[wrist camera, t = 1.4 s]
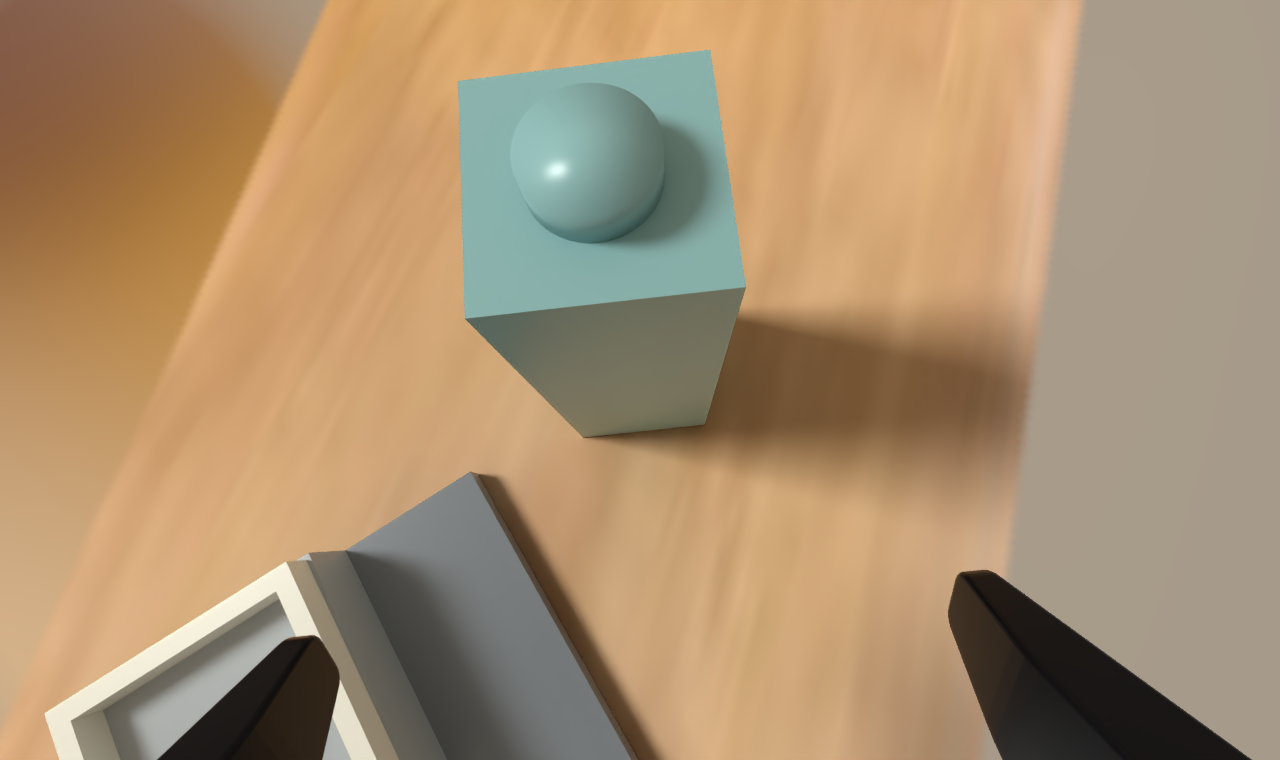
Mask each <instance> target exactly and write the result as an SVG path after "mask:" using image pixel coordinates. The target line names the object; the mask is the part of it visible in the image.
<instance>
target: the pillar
mask: <svg viewBox="0 0 1280 760" xmlns="http://www.w3.org/2000/svg"><path fill="white" fill-rule="evenodd" d="M458 94H459V130H460V165H461V200H462V235H463V271H464V306H465V319H466V320H467V321H468V322H469V323H470V324H471V325H472V326H473V327H474V328H475V329H476V330H477V331H478V332H479V333H480V334H481V335H482V336H483V337H484V338H485V339H486V340H487V341H488V342H489V343H490V344H491V345H492V346H493V347H494V348H495V349H496V350H497V351H498V352H499V353H500V354H501V355H502V356H503V357H504V358H505V359H506V360H507V361H508V362H509V363H510V364H511V365H512V366H513V367H514V368H515V369H516V370H517V371H518V372H519V373H520V374H521V375H522V376H523V377H524V378H525V379H526V380H527V381H528V382H529V383H530V384H531V385H532V386H533V387H534V388H535V389H536V390H537V391H538V392H539V393H540V394H541V395H542V396H543V397H544V398H545V399H546V400H547V401H548V402H549V404H550V405H551V406H552V407H553V408H554V409H555V410H556V411H557V412H558V413H559V414H560V415H561V416H562V417H563V418H564V419H565V420H566V421H567V422H568V423H569V424H570V425H571V426H572V427H573V428H574V429H575V430H576V431H577V432H578V433H579V434H580V435H581V436H582V437H592V436H602V435H611V434H621V433H630V432H639V431H649V430H658V429H668V428H677V427H687V426H696V425H705V422H706V419H707V416H708V412H709V409H710V406H711V402H712V399H713V396H714V392H715V389H716V385H717V382H718V379H719V375H720V372H721V369H722V365H723V362H724V359H725V355H726V352H727V349H728V345H729V342H730V339H731V335H732V332H733V329H734V325H735V322H736V319H737V315H738V312H739V309H740V305H741V302H742V299H743V295H744V292H745V288H746V284H745V278H744V271H743V264H742V258H741V251H740V245H739V238H738V231H737V225H736V218H735V211H734V205H733V198H732V192H731V185H730V178H729V172H728V165H727V158H726V152H725V145H724V139H723V132H722V125H721V119H720V112H719V106H718V99H717V92H716V86H715V79H714V72H713V66H712V59H711V53H710V50H704V51H696V52H688V53H680V54H672V55H664V56H656V57H648V58H640V59H632V60H624V61H616V62H607V63H599V64H591V65H583V66H575V67H567V68H559V69H551V70H543V71H535V72H527V73H519V74H511V75H503V76H495V77H487V78H479V79H471V80H462V81H458Z"/></svg>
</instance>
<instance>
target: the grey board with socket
mask: <svg viewBox="0 0 1280 760" xmlns="http://www.w3.org/2000/svg"><path fill="white" fill-rule="evenodd" d="M307 635H315V636H317V637H319V638H320V639H321V640H322V642H323V643H324V645H325V647H326V648H327V650H328V652H329V653H330V655H331V657H332V658H333V660H334V662H335V663H336V665H337V667H338V669H339V674H340V684H339V689H338V694H337V698H336V703H335V707H334V711H333V716H332V720H331V725H330V729H329V733H328V738H327V742H326V747H325V751H324V755H323V760H638V759H637V757H636V755H635V753H634V751H633V750H632V748H631V746H630V744H629V743H628V741H627V739H626V737H625V735H624V734H623V732H622V730H621V728H620V727H619V725H618V723H617V721H616V719H615V718H614V716H613V714H612V712H611V711H610V709H609V707H608V705H607V703H606V702H605V700H604V698H603V696H602V694H601V693H600V691H599V689H598V687H597V686H596V684H595V682H594V680H593V678H592V677H591V675H590V673H589V671H588V670H587V668H586V666H585V664H584V662H583V661H582V659H581V657H580V655H579V654H578V652H577V650H576V648H575V646H574V645H573V643H572V641H571V639H570V638H569V636H568V634H567V632H566V630H565V629H564V627H563V625H562V623H561V622H560V620H559V618H558V616H557V614H556V613H555V611H554V609H553V607H552V606H551V604H550V602H549V600H548V598H547V597H546V595H545V593H544V591H543V589H542V588H541V586H540V584H539V582H538V581H537V579H536V577H535V575H534V573H533V572H532V570H531V568H530V566H529V565H528V563H527V561H526V559H525V557H524V556H523V554H522V552H521V550H520V549H519V547H518V545H517V543H516V541H515V540H514V538H513V536H512V534H511V533H510V531H509V529H508V527H507V525H506V524H505V522H504V520H503V518H502V517H501V515H500V513H499V511H498V509H497V508H496V506H495V504H494V502H493V500H492V499H491V497H490V495H489V493H488V492H487V490H486V488H485V486H484V484H483V483H482V481H481V479H480V477H479V476H478V474H477V473H473V472H469V473H467V474H466V475H464V476H463V477H461V478H460V479H458V480H456V481H455V482H453V483H452V484H450V485H448V486H447V487H445V488H444V489H442V490H441V491H439V492H437V493H436V494H434V495H433V496H431V497H429V498H428V499H426V500H425V501H423V502H422V503H420V504H418V505H417V506H415V507H414V508H412V509H410V510H409V511H407V512H406V513H404V514H403V515H401V516H399V517H398V518H396V519H395V520H393V521H392V522H390V523H388V524H387V525H385V526H384V527H382V528H380V529H379V530H377V531H376V532H374V533H373V534H371V535H369V536H368V537H366V538H365V539H363V540H361V541H360V542H358V543H357V544H355V545H354V546H352V547H350V548H349V549H347V550H345V551H330V552H315V553H308V554H306V555H304V556H303V557H301V558H300V559H298V560H296V561H287V562H285V563H283V564H281V565H280V566H278V567H277V568H275V569H273V570H272V571H270V572H269V573H267V574H265V575H264V576H262V577H261V578H259V579H258V580H256V581H254V582H253V583H251V584H250V585H248V586H246V587H245V588H243V589H242V590H240V591H238V592H237V593H235V594H234V595H232V596H230V597H229V598H227V599H226V600H224V601H222V602H221V603H219V604H218V605H216V606H215V607H213V608H211V609H210V610H208V611H207V612H205V613H203V614H202V615H200V616H199V617H197V618H195V619H194V620H192V621H191V622H189V623H187V624H186V625H184V626H183V627H181V628H179V629H178V630H176V631H175V632H173V633H171V634H170V635H168V636H167V637H165V638H164V639H162V640H160V641H159V642H157V643H156V644H154V645H152V646H151V647H149V648H148V649H146V650H144V651H143V652H141V653H140V654H138V655H136V656H135V657H133V658H132V659H130V660H128V661H127V662H125V663H124V664H122V665H121V666H119V667H117V668H116V669H114V670H113V671H111V672H109V673H108V674H106V675H105V676H103V677H101V678H100V679H98V680H97V681H95V682H93V683H92V684H90V685H89V686H87V687H85V688H84V689H82V690H81V691H79V692H78V693H76V694H74V695H73V696H71V697H70V698H68V699H66V700H65V701H63V702H62V703H60V704H58V705H57V706H55V707H54V708H52V709H50V710H49V711H47V712H46V713H44V714H45V717H46V720H47V723H48V726H49V729H50V732H51V735H52V738H53V741H54V744H55V747H56V750H57V753H58V757H59V760H157V759H158V758H159V757H160V756H161V755H162V754H163V753H164V752H165V751H167V750H168V749H169V748H170V747H171V746H172V745H173V744H174V743H175V742H176V741H177V740H178V739H179V738H180V737H181V736H182V735H183V734H184V733H186V732H187V731H188V730H189V729H190V728H191V727H192V726H193V725H194V724H195V723H196V722H197V721H198V720H199V719H200V718H201V717H202V716H203V715H205V714H206V713H207V712H208V711H209V710H210V709H211V708H212V707H213V706H214V705H215V704H216V703H217V702H218V701H219V700H220V699H221V698H223V697H224V696H225V695H226V694H227V693H228V692H229V691H230V690H231V689H232V688H233V687H234V686H235V685H236V684H237V683H238V682H239V681H240V680H242V679H243V678H244V677H245V676H246V675H247V674H248V673H249V672H250V671H251V670H252V669H253V668H254V667H255V666H256V665H257V664H258V663H259V662H261V661H262V660H263V659H264V658H265V657H266V656H267V655H268V654H269V653H270V652H271V651H272V650H273V649H274V648H275V647H276V646H277V645H279V644H280V643H281V642H282V641H284V640H285V639H287V638H290V637H297V636H307Z"/></svg>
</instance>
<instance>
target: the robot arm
mask: <svg viewBox="0 0 1280 760" xmlns="http://www.w3.org/2000/svg"><path fill="white" fill-rule="evenodd" d="M948 618H949V624H950V627H951V630H952V633H953V635H954V638H955V641H956V643H957V646H958V649H959V651H960V654H961V657H962V659H963V662H964V665H965V667H966V670H967V672H968V675H969V678H970V680H971V683H972V686H973V688H974V691H975V694H976V696H977V699H978V702H979V704H980V707H981V710H982V712H983V715H984V717H985V720H986V723H987V725H988V728H989V730H990V732H991V735H992V738H993V740H994V742H995V744H996V746H997V749H998V751H999V753H1000V755H1001V757H1002V759H1003V760H1251V759H1250V758H1249V757H1247V756H1246V755H1244V754H1243V753H1242V752H1240V751H1239V750H1238V749H1236V748H1235V747H1234V746H1232V745H1231V744H1229V743H1228V742H1227V741H1225V740H1224V739H1223V738H1221V737H1220V736H1218V735H1217V734H1216V733H1214V732H1213V731H1212V730H1210V729H1209V728H1208V727H1206V726H1205V725H1203V724H1202V723H1201V722H1199V721H1198V720H1196V719H1195V718H1194V717H1192V716H1191V715H1190V714H1188V713H1187V712H1186V711H1184V710H1183V709H1181V708H1180V707H1179V706H1177V705H1176V704H1174V703H1173V702H1172V701H1170V700H1169V699H1168V698H1166V697H1165V696H1163V695H1162V694H1161V693H1159V692H1158V691H1157V690H1155V689H1154V688H1152V687H1151V686H1150V685H1148V684H1147V683H1146V682H1144V681H1143V680H1141V679H1140V678H1139V677H1137V676H1136V675H1135V674H1133V673H1132V672H1130V671H1129V670H1128V669H1126V668H1125V667H1124V666H1122V665H1121V664H1120V663H1118V662H1117V661H1115V660H1114V659H1113V658H1111V657H1110V656H1108V655H1107V654H1106V653H1104V652H1103V651H1102V650H1100V649H1099V648H1098V647H1096V646H1095V645H1093V644H1092V643H1090V642H1089V641H1088V640H1087V639H1085V638H1084V637H1082V636H1081V635H1080V634H1078V633H1077V632H1076V631H1074V630H1073V629H1071V628H1070V627H1069V626H1067V625H1066V624H1065V623H1063V622H1062V621H1060V620H1059V619H1058V618H1056V617H1055V616H1054V615H1052V614H1051V613H1049V612H1048V611H1047V610H1045V609H1044V608H1042V607H1041V606H1040V605H1038V604H1037V603H1036V602H1034V601H1033V600H1032V599H1030V598H1029V597H1027V596H1026V595H1025V594H1023V593H1022V592H1021V591H1019V590H1018V589H1016V588H1015V587H1014V586H1012V585H1011V584H1010V583H1008V582H1007V581H1005V580H1004V579H1003V578H1001V577H1000V576H999V575H997V574H996V573H994V572H992V571H989V570H977V571H966V572H961V573H960V574H959V575H957V577H956V580H955V584H954V588H953V592H952V596H951V600H950V604H949V609H948ZM339 684H340V674H339V669H338V667H337V665H336V663H335V662H334V660H333V658H332V657H331V655H330V653H329V652H328V650H327V648H326V647H325V645H324V643H323V642H322V640H321V639H320V638H319V637H317V636H315V635H307V636H297V637H290V638H287V639H285V640H284V641H282V642H281V643H280V644H279V645H277V646H276V647H275V648H274V649H273V650H272V651H271V652H270V653H269V654H268V655H267V656H266V657H265V658H264V659H263V660H262V661H261V662H259V663H258V664H257V665H256V666H255V667H254V668H253V669H252V670H251V671H250V672H249V673H248V674H247V675H246V676H245V677H244V678H243V679H242V680H240V681H239V682H238V683H237V684H236V685H235V686H234V687H233V688H232V689H231V690H230V691H229V692H228V693H227V694H226V695H225V696H224V697H223V698H221V699H220V700H219V701H218V702H217V703H216V704H215V705H214V706H213V707H212V708H211V709H210V710H209V711H208V712H207V713H206V714H205V715H203V716H202V717H201V718H200V719H199V720H198V721H197V722H196V723H195V724H194V725H193V726H192V727H191V728H190V729H189V730H188V731H187V732H186V733H184V734H183V735H182V736H181V737H180V738H179V739H178V740H177V741H176V742H175V743H174V744H173V745H172V746H171V747H170V748H169V749H168V750H167V751H165V752H164V753H163V754H162V755H161V756H160V757H159V758H158V759H157V760H323V755H324V751H325V747H326V742H327V738H328V733H329V729H330V725H331V720H332V716H333V711H334V707H335V703H336V698H337V694H338V689H339Z"/></svg>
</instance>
